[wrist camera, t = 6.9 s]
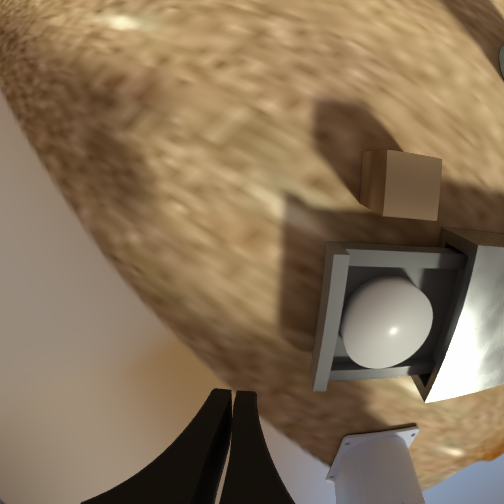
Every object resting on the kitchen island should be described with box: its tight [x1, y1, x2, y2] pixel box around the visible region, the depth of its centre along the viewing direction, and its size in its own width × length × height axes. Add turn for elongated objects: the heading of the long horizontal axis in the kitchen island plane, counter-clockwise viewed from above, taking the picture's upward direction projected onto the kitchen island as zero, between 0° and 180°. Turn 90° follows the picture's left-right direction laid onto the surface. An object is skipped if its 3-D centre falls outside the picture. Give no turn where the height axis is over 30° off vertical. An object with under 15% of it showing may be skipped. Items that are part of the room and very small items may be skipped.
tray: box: [310, 242, 468, 392], centre depth 16 cm, size 9×10×2 cm
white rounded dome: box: [339, 275, 433, 369], centre depth 16 cm, size 6×6×2 cm
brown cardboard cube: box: [360, 150, 442, 221], centre depth 14 cm, size 3×3×4 cm
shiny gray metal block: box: [411, 227, 504, 403], centre depth 15 cm, size 11×11×4 cm
